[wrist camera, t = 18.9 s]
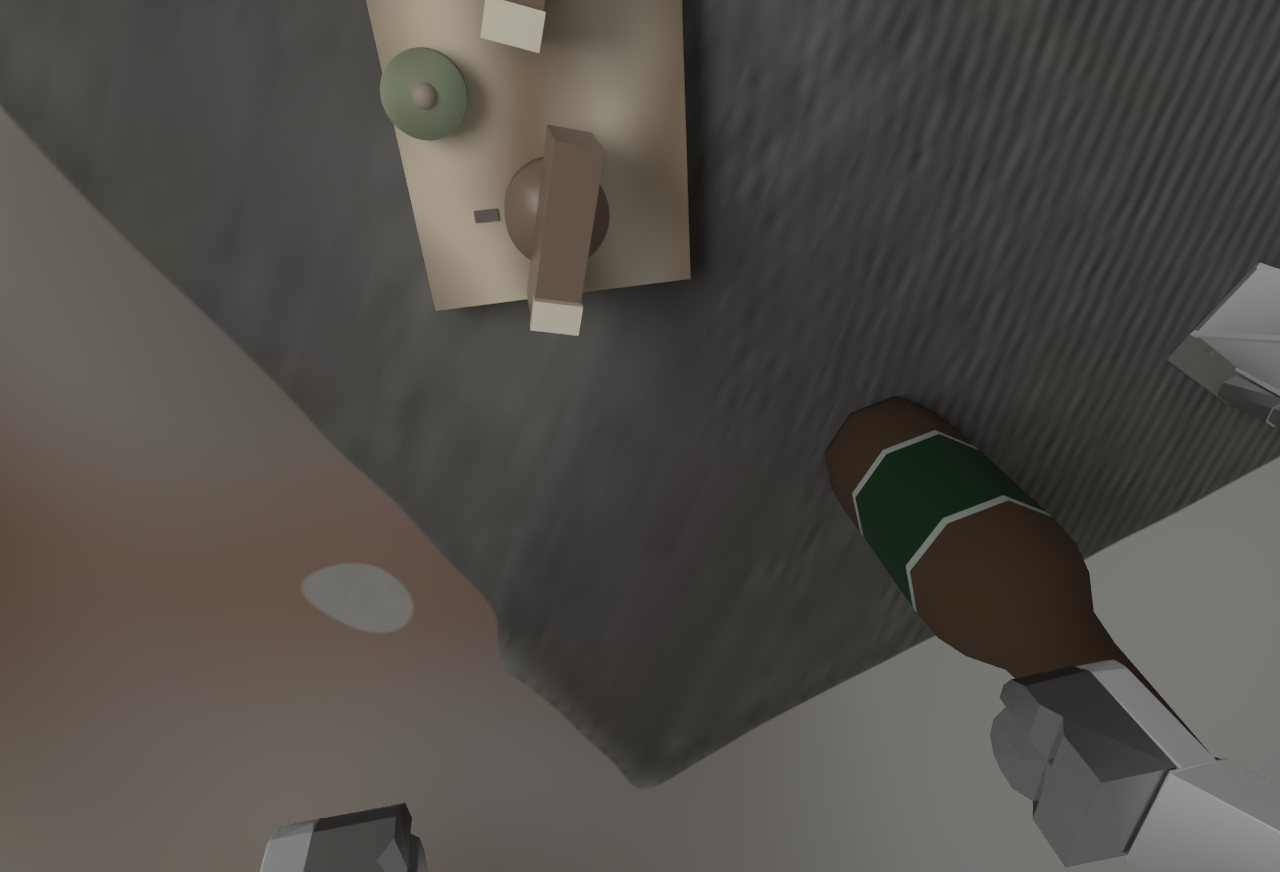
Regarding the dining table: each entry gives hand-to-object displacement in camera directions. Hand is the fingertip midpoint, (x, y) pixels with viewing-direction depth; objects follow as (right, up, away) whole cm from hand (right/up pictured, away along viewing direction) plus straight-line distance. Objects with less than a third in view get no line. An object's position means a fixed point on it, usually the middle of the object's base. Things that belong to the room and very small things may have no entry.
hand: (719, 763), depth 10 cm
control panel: (-5, +20, +22) cm, 30 cm away
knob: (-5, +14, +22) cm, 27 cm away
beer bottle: (+14, +4, +35) cm, 38 cm away
